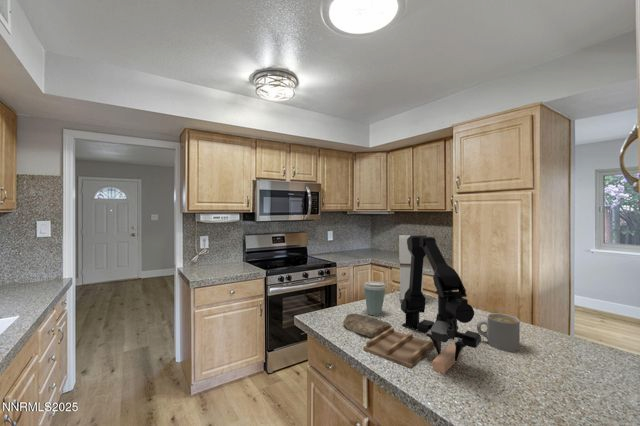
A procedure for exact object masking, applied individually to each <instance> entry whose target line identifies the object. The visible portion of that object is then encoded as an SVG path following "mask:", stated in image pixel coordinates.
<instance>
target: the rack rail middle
mask: <svg viewBox="0 0 640 426" xmlns="http://www.w3.org/2000/svg"><path fill="white" fill-rule="evenodd" d="M406 335H407V336H405V337H404V338H402V339H401V340H399V341H398V342H396V343H395V344H393V345H392V346H390V347H389V348H388V349H386V354H387V355H390V354H391V353H392V352H394V351H395V350H397V349H398V348H399V347H401V346H402V345H404V344H405V343H406V342H408V341H409V340H410V339H412V338H413V337H414V333H412V332H410V333H408V334H406Z"/></svg>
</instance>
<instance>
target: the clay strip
mask: <svg viewBox="0 0 640 426" xmlns="http://www.w3.org/2000/svg"><path fill="white" fill-rule="evenodd" d="M455 350H456V346H455V343H450V344H449V345H447V347H445V349H443V350H441V353H440V354H439V355H438V354H437V356H436V357H435V358H434V359H433V360H432V370H433V371H436V372H439V373H440V374H441V373H442V374H444V375H445V374H446V373H447V372H448V370H449V369H450V368H451V367H452V366H453V365H454V363H456V361H455ZM462 351H463V350H462ZM462 351H461V353H460V356H459V358H460V357H461V355H463V353H462Z"/></svg>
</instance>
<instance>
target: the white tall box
mask: <svg viewBox="0 0 640 426" xmlns="http://www.w3.org/2000/svg"><path fill="white" fill-rule="evenodd" d="M410 236H411V234H410V235H409V234H408V235H407V234H405V235H402V234H401V235H399V236H398V239H399V241H398V243H399V246H398V250H399V254H398V255H399V256H398V258H399V262H398V263H399V304H401V303H402V301H403V299H404V296H405V293H406V291H407V290H408V289H409V284H410V269H411V254H410V252H409V250H408V246H407V239H408V238H409V237H410ZM423 274H424V272H423V273H422V286H421V292H422V293H423V294H424V284H423V283H424V278H423V277H424V275H423Z"/></svg>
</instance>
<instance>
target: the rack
mask: <svg viewBox="0 0 640 426" xmlns="http://www.w3.org/2000/svg"><path fill="white" fill-rule="evenodd" d="M407 335H408V334H405V333H403V332H400V331H396V330H394V332H393V333H392V334H390V335H388V336H387V337H385V338H384V339H382V340H380V341H379V342H377V343H375V344H374V345H372V346H371V347H369V348H368V347H366V345H365V346H363V351H365V352H367V353H370V354H372V355H375V356H378V357H380V358H383V359H384V360H385V359H386V360H388V361H391V362H393V363H396V364H398V365H401V366H403V367H406V368H409V369H412V368H413V367H414V366H416V365H417V363H419V362H420V361H421V360H423V358H425V356H427V355H428V354H430V352H431V351H433V350H434V349H436V348H435V346H434V344H433V345H432V346H431V347H430V348H429V349H427V350H426V351H425V352H424V353H423V354H422V355H420V356H419V357H418V358H417V359H416V360H414V361H413V362H412V363H408V357H409V356H410V355H412V354H413V353H414V352H415V351H417V350H418V349H419V348H420V347H422V346H423V345H424V344H425V343H427V342H428V341H429V340H427V339H426V340H425V339H424V338H423V339H422V338H419V337H416V336H413V338H412V339H410V340H409V341H408V342H406V343H405V344H404V345H402V346H401V347H399V348H398V349H397V350H395V351H394V352H392V353H391V354H390V355H387V354H386V349H388V348H389V347H390V346H392V345H393V344H395V343H396V342H398V341H399V340H401V339H402V338H404V337H405V336H407Z"/></svg>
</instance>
